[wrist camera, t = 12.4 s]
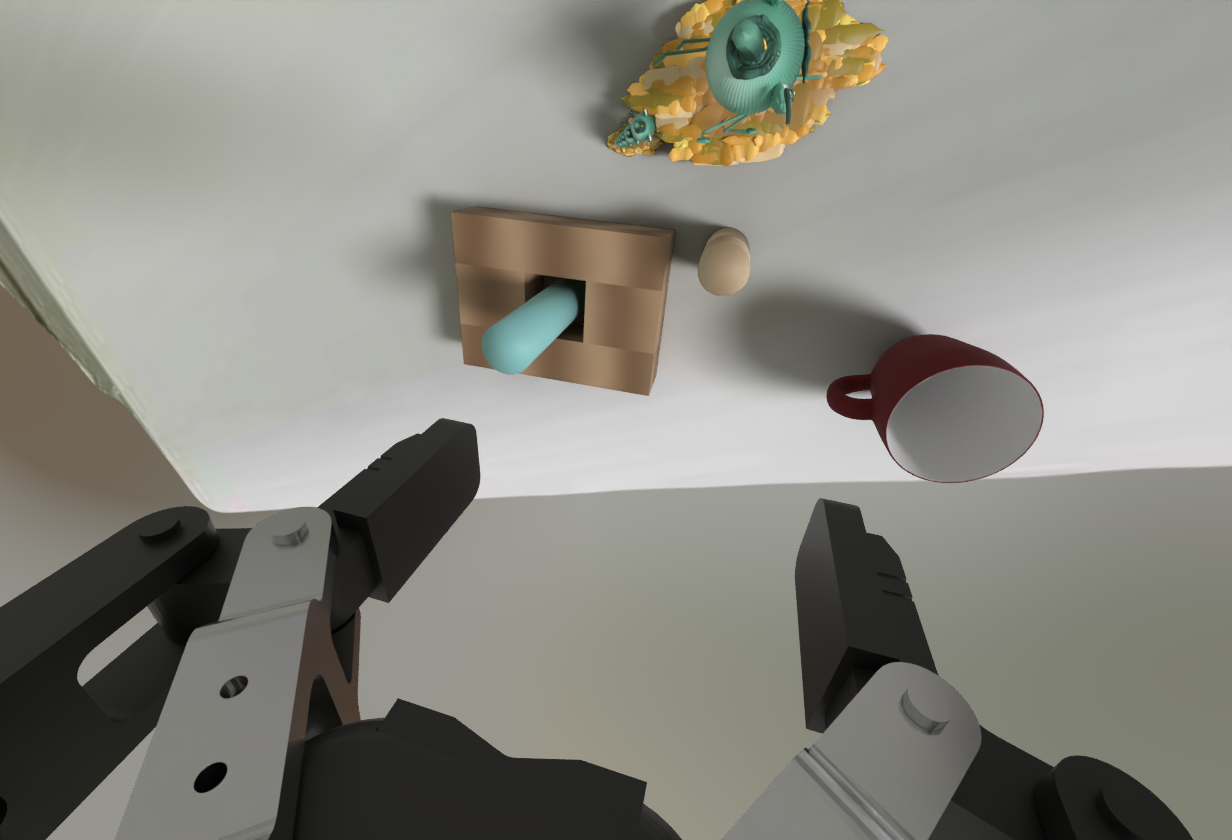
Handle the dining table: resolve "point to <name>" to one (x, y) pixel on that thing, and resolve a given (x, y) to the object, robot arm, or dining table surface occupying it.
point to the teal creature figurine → (747, 79)
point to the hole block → (575, 249)
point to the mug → (945, 408)
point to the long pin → (533, 326)
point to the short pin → (725, 262)
